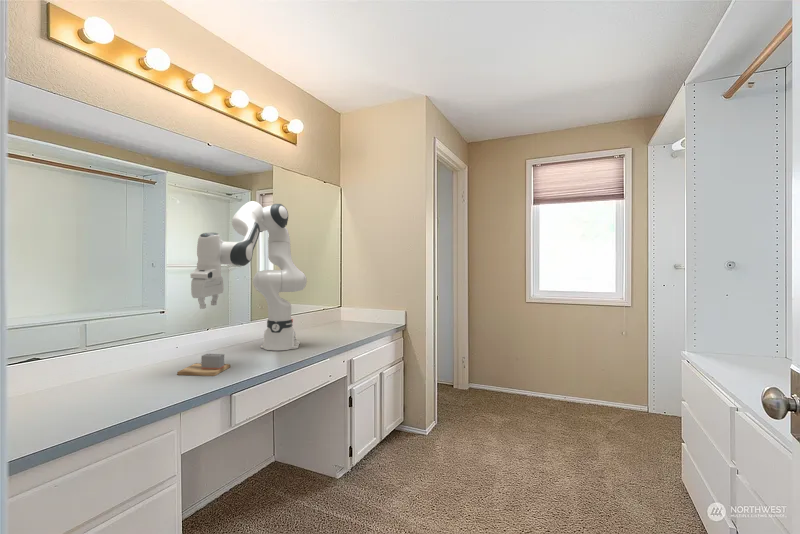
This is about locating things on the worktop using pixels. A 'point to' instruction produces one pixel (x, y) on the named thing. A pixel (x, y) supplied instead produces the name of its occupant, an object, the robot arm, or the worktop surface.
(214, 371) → the board
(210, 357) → the sanding block
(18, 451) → the worktop surface
